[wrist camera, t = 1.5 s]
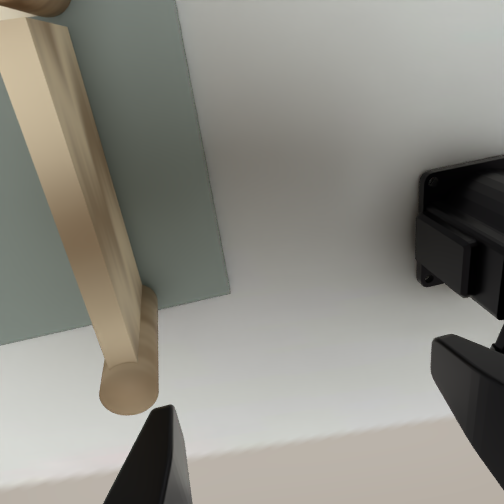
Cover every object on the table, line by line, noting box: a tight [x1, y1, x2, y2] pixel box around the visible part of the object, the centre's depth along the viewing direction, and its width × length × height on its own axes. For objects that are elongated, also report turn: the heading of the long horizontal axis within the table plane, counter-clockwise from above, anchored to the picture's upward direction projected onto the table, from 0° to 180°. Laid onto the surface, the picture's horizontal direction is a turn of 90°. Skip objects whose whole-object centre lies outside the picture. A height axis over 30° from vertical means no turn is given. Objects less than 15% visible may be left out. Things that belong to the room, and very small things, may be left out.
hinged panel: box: [0, 17, 159, 415], centre depth 16 cm, size 13×2×6 cm, turn 8°
